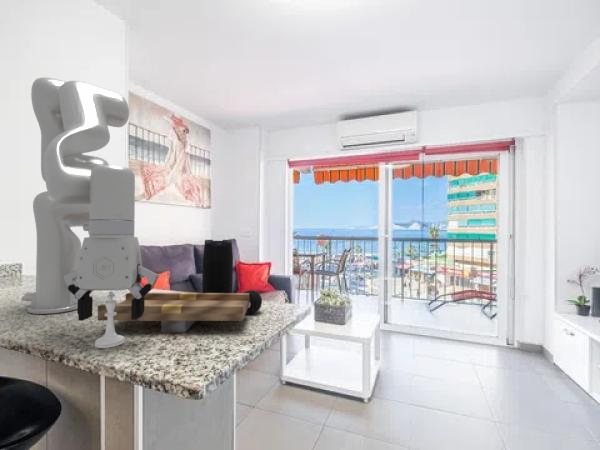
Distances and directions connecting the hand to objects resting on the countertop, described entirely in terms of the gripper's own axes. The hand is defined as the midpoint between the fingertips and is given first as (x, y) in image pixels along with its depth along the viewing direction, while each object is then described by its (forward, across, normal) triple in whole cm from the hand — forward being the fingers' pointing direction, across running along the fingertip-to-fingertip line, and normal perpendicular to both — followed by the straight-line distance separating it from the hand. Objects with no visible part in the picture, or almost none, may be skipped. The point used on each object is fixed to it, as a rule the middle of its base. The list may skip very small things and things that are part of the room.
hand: (111, 318), depth 60 cm
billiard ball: (+5, +24, +21) cm, 33 cm away
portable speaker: (+5, +14, +27) cm, 31 cm away
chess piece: (+5, 0, 0) cm, 5 cm away
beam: (+5, +10, +11) cm, 16 cm away
